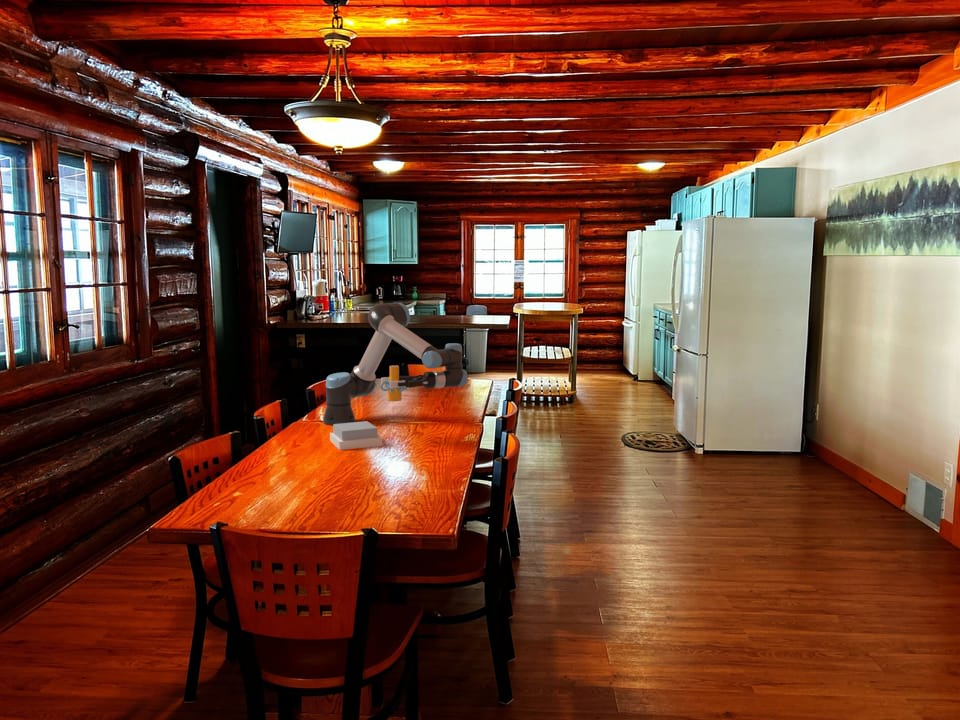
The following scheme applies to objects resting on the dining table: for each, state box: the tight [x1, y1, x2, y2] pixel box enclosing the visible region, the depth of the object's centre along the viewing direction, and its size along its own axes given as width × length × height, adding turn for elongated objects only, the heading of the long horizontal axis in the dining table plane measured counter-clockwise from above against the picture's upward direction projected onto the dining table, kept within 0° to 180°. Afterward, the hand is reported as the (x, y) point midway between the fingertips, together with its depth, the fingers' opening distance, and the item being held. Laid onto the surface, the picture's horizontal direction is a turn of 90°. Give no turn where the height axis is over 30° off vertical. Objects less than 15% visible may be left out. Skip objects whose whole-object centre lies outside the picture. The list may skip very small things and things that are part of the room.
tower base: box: [329, 432, 383, 451], centre depth 305 cm, size 18×18×4 cm
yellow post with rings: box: [380, 365, 408, 402], centre depth 311 cm, size 12×10×15 cm
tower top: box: [332, 420, 379, 441], centre depth 305 cm, size 15×15×4 cm
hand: (385, 382), depth 309 cm, fingers closed on yellow post with rings, 11 cm apart
